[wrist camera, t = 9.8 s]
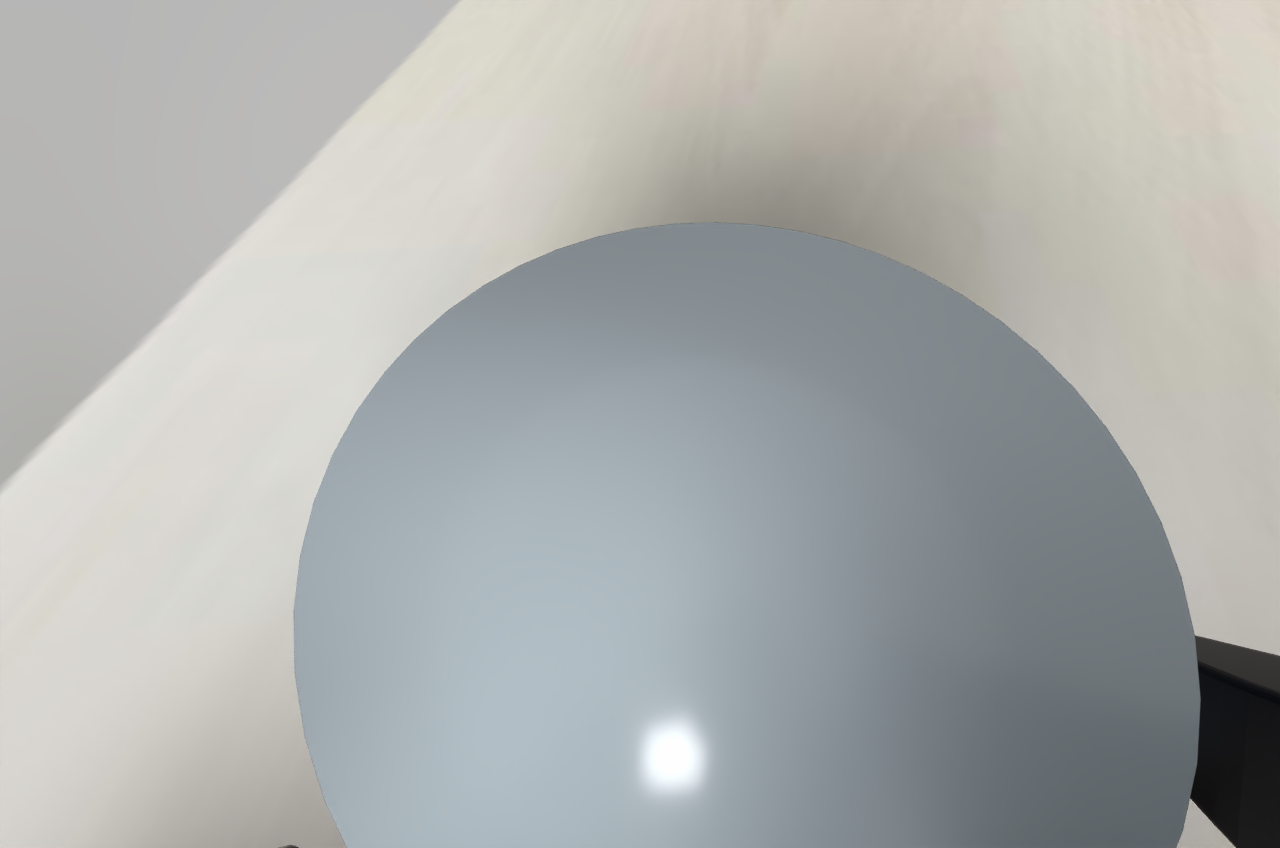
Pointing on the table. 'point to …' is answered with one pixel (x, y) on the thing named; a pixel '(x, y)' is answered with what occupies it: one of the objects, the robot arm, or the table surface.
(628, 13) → the table surface
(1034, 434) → the domed blue cylinder
